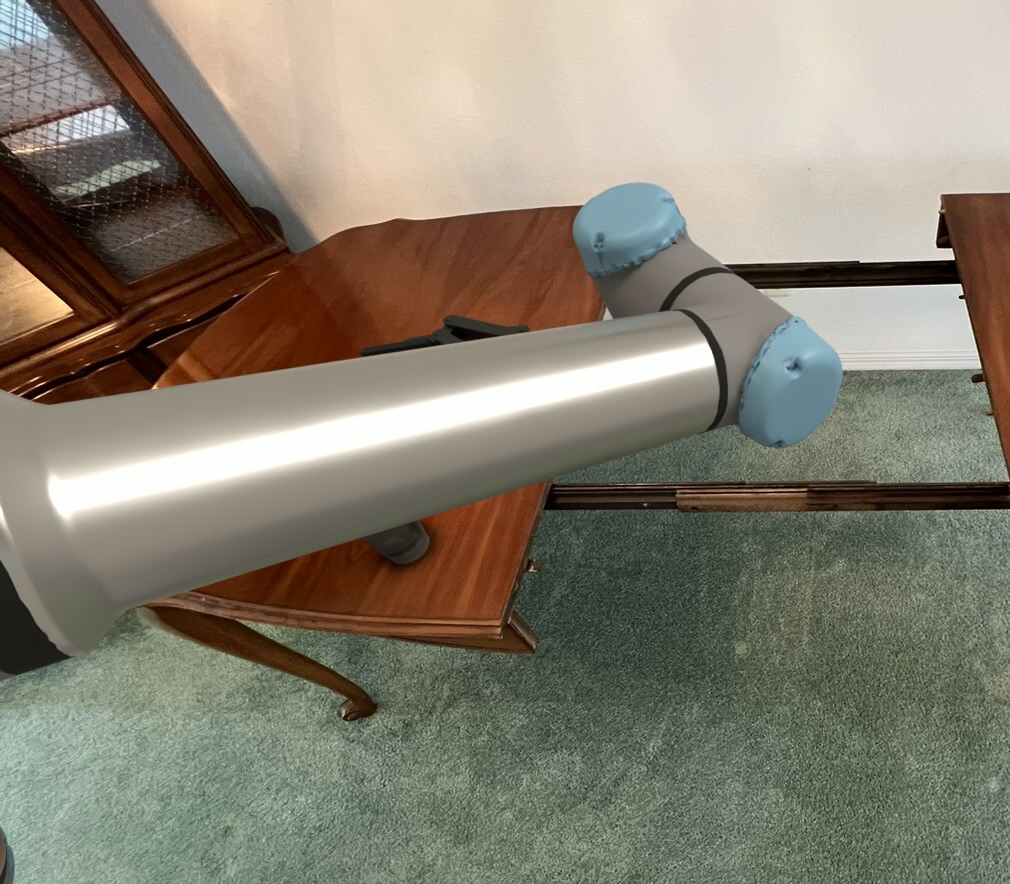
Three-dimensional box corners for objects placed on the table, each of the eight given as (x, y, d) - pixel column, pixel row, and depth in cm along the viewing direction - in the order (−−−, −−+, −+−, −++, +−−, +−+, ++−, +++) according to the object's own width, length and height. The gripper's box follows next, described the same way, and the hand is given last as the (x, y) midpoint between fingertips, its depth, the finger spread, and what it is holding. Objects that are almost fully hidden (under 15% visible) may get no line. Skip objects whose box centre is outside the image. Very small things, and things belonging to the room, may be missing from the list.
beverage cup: (397, 518, 81) (291, 408, 66) (452, 523, 80) (357, 412, 65) (365, 571, 77) (242, 466, 61) (423, 577, 76) (313, 472, 60)
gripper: (574, 525, 53) (325, 560, 55) (606, 314, 68) (411, 346, 70) (530, 473, 47) (253, 514, 49) (577, 255, 62) (364, 291, 64)
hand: (345, 415), depth 59 cm, fingers open, 13 cm apart
